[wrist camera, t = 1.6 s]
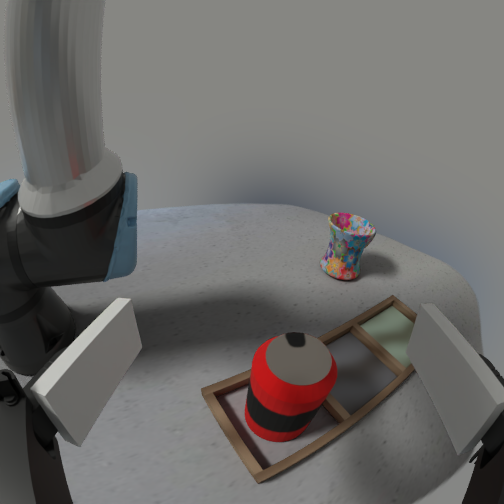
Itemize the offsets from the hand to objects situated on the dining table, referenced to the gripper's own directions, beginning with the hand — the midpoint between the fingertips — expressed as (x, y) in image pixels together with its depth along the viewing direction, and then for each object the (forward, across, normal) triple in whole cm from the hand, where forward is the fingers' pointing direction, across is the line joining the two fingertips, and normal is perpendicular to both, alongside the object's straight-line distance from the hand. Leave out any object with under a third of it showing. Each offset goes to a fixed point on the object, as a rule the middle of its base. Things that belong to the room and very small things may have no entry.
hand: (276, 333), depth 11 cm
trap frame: (+18, +11, -19) cm, 28 cm away
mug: (+43, +14, -14) cm, 47 cm away
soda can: (+11, +1, -20) cm, 23 cm away
